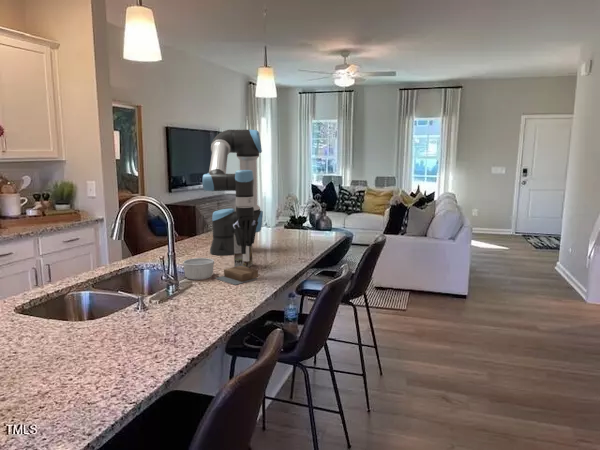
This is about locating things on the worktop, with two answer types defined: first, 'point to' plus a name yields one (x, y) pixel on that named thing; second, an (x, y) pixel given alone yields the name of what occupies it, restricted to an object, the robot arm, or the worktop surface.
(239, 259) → the coffee box
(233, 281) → the mat
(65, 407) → the worktop surface
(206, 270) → the ramekin
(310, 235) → the worktop surface
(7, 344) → the worktop surface
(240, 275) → the wooden block
